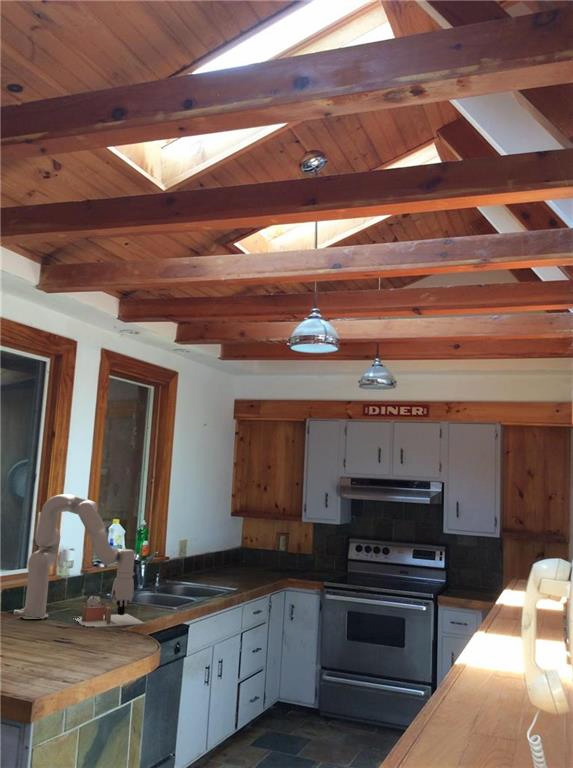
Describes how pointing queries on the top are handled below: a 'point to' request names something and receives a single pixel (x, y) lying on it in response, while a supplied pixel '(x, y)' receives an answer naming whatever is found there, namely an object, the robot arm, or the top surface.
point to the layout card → (112, 621)
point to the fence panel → (108, 615)
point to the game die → (94, 601)
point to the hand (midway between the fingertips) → (120, 614)
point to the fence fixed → (93, 613)
